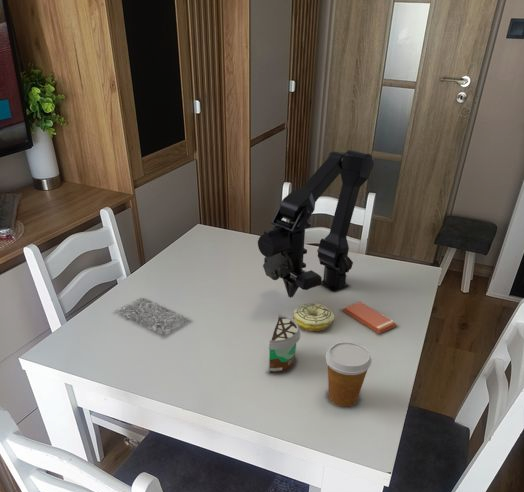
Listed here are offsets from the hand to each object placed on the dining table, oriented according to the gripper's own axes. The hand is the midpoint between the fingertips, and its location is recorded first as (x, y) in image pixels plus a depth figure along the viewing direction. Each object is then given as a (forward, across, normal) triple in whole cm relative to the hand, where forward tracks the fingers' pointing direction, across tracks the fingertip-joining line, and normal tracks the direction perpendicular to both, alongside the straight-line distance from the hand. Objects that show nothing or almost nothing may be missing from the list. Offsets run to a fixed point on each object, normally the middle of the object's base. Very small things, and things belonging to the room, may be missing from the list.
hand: (290, 296), depth 137 cm
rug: (+3, -17, -35) cm, 39 cm away
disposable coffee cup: (+3, +37, -14) cm, 40 cm away
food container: (+3, +20, -17) cm, 27 cm away
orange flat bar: (+3, +17, +14) cm, 22 cm away
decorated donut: (+3, +10, 0) cm, 11 cm away
